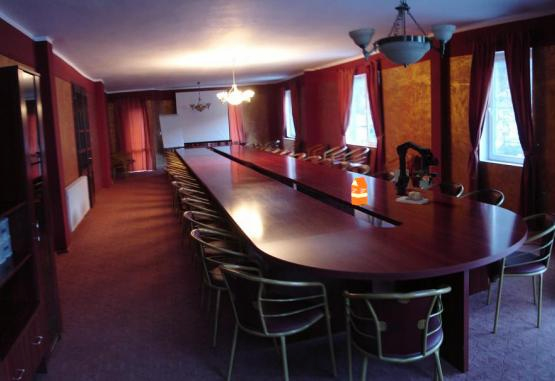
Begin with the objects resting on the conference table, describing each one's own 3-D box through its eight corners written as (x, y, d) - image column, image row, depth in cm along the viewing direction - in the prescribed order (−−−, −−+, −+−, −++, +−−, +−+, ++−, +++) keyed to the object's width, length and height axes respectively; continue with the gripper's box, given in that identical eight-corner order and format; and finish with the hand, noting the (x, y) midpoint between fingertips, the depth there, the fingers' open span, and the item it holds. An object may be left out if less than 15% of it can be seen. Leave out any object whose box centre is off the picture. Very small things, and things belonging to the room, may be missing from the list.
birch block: (408, 199, 356) (408, 192, 355) (412, 198, 360) (412, 191, 359) (416, 200, 352) (416, 193, 351) (420, 198, 356) (420, 192, 355)
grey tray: (395, 201, 360) (395, 197, 359) (403, 198, 368) (403, 195, 368) (420, 204, 346) (420, 200, 346) (428, 201, 355) (428, 197, 354)
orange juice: (351, 204, 358) (351, 177, 354) (360, 202, 362) (360, 176, 358) (358, 205, 351) (357, 178, 347) (367, 204, 355) (367, 177, 351)
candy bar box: (408, 188, 409) (409, 169, 406) (407, 189, 405) (407, 170, 402) (395, 188, 415) (395, 169, 412) (394, 189, 410) (394, 170, 407)
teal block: (419, 187, 362) (419, 180, 361) (423, 186, 366) (423, 179, 366) (427, 188, 358) (427, 181, 357) (430, 186, 362) (431, 180, 361)
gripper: (409, 165, 360) (408, 186, 363) (432, 167, 347) (432, 188, 350) (416, 164, 368) (415, 184, 371) (439, 165, 355) (439, 186, 358)
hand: (425, 185), depth 362 cm, fingers closed on teal block, 6 cm apart
